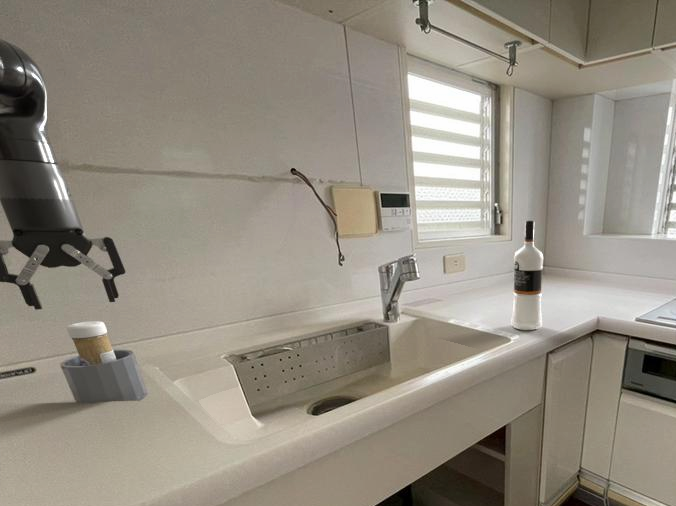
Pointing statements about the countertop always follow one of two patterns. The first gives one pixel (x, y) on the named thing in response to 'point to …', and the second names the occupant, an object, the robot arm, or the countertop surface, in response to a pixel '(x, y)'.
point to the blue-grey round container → (105, 379)
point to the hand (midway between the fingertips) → (77, 305)
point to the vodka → (527, 283)
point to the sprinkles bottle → (91, 342)
